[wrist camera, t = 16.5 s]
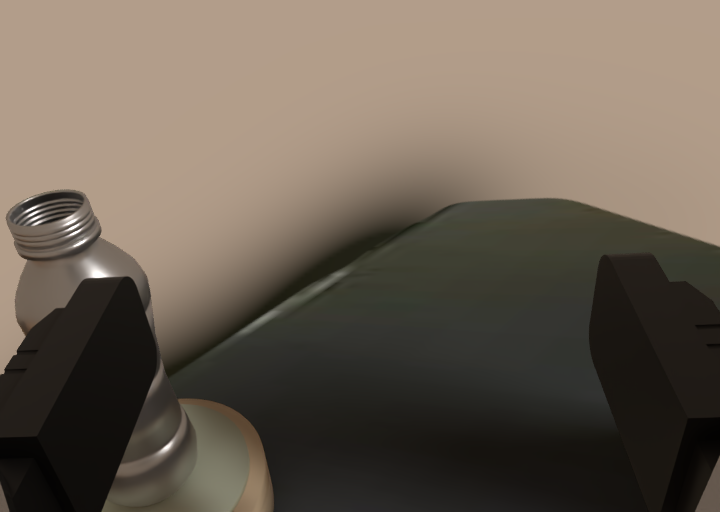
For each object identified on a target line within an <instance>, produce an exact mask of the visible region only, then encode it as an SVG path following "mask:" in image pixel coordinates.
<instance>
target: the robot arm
mask: <svg viewBox="0 0 720 512" xmlns="http://www.w3.org/2000/svg"><path fill="white" fill-rule="evenodd" d="M589 344H590V351H591V356H592V360H593V363H594V366H595V369H596V371H597V374H598V377H599V380H600V382H601V385H602V388H603V390H604V393H605V396H606V398H607V401H608V404H609V407H610V409H611V412H612V415H613V417H614V420H615V423H616V425H617V428H618V431H619V433H620V436H621V439H622V442H623V444H624V447H625V450H626V452H627V455H628V458H629V460H630V463H631V466H632V468H633V471H634V474H635V477H636V479H637V482H638V485H639V487H640V490H641V493H642V495H643V498H644V501H645V504H646V506H647V509H648V512H720V312H719V310H718V309H717V307H716V306H715V304H714V303H713V301H712V300H711V299H709V298H708V297H707V296H705V295H704V294H703V293H701V292H700V291H699V290H697V289H696V288H694V287H693V286H692V285H690V284H689V283H688V282H686V281H682V282H669V280H668V279H667V277H666V275H665V274H664V272H663V270H662V268H661V267H660V265H659V263H658V262H657V260H656V258H655V257H654V255H652V254H651V253H632V254H611V255H603V256H602V257H601V259H600V261H599V265H598V271H597V278H596V285H595V291H594V298H593V305H592V311H591V318H590V325H589ZM156 367H157V349H156V343H155V340H154V337H153V334H152V331H151V328H150V325H149V322H148V319H147V316H146V313H145V310H144V307H143V304H142V301H141V298H140V295H139V292H138V289H137V286H136V284H135V282H134V280H133V279H132V278H131V277H129V276H122V277H101V278H86V279H84V280H83V281H81V283H80V284H79V286H78V287H77V289H76V291H75V292H74V294H73V295H72V297H71V299H70V300H69V302H68V304H67V305H66V307H65V308H55V309H54V310H53V311H52V312H51V313H49V314H48V315H47V316H46V317H44V318H43V319H42V320H41V321H40V322H38V323H37V324H36V325H35V326H34V327H32V328H31V330H30V331H29V333H28V334H27V336H26V337H25V339H24V340H23V342H22V343H21V345H20V346H19V348H18V349H17V355H14V356H13V357H12V358H11V360H10V362H9V363H8V365H7V366H6V368H5V369H4V370H5V373H4V374H1V375H0V512H102V509H103V507H104V504H105V502H106V499H107V497H108V494H109V491H110V489H111V486H112V484H113V481H114V479H115V476H116V474H117V471H118V469H119V466H120V463H121V461H122V458H123V456H124V453H125V451H126V448H127V446H128V443H129V440H130V438H131V435H132V433H133V430H134V428H135V425H136V423H137V420H138V417H139V415H140V412H141V410H142V407H143V405H144V402H145V400H146V397H147V395H148V392H149V389H150V387H151V384H152V382H153V379H154V376H155V373H156Z"/></svg>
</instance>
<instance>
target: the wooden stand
mask: <svg viewBox="0 0 720 512" xmlns="http://www.w3.org/2000/svg"><path fill="white" fill-rule="evenodd" d="M177 400H178V402H179V403H180V404H181V406H182V407H183V408H184V410H185V411H186V413H187V415H188V417H189V419H190V421H191V423H192V425H193V427H194V429H195V431H196V436H197V451H198V453H197V461H196V464H195V467H194V469H193V471H192V473H191V474H190V476H189V478H188V479H187V481H186V482H185V483H184V484H183V486H182V487H181V488H180V489H179V490H177V491H176V492H175V493H174V494H173V495H171V496H170V497H168V498H167V499H164V500H162V501H160V502H158V503H155V504H152V505H149V506H143V507H129V506H123V505H117V504H114V503H112V502H110V501H108V500H107V499H106V502H105V504H104V507H103V509H102V512H273V511H274V492H273V487H272V482H271V478H270V474H269V470H268V465H267V461H266V457H265V453H264V449H263V445H262V442H261V440H260V437H259V435H258V433H257V432H256V430H255V428H254V427H253V426H252V425H251V423H250V422H249V421H248V420H247V419H246V418H245V417H243V416H242V415H241V414H240V413H238V412H237V411H235V410H233V409H232V408H230V407H227V406H225V405H223V404H220V403H216V402H213V401H208V400H201V399H177Z"/></svg>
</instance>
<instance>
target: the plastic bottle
mask: <svg viewBox="0 0 720 512" xmlns="http://www.w3.org/2000/svg"><path fill="white" fill-rule="evenodd" d="M6 220H7V225H8V227H9V229H10V231H11V233H12V235H13V238H14V240H15V241H14V245H15V248H16V250H17V252H18V254H19V255H20V256H21V257H22V258H24V259H27V263H26V265H25V267H24V270H23V272H22V274H21V277H20V280H19V284H18V288H17V291H16V296H15V310H16V318H17V322H18V324H19V326H20V327H21V329H22V331H23V332H24V334H25V336H27V334H28V333H29V331H30V330H31V328H32V327H34V326H35V325H36V324H37V323H38V322H40V321H41V320H42V319H43V318H44V317H46V316H47V315H48V314H49V313H51V312H52V311H53V310H54V309H55V308H65V307H66V305H67V304H68V302H69V300H70V299H71V297H72V295H73V294H74V292H75V291H76V289H77V287H78V286H79V284H80V283H81V281H83V280H84V279H86V278H101V277H122V276H129V277H131V278H132V279H133V280H134V282H135V284H136V286H137V289H138V292H139V295H140V298H141V301H142V304H143V307H144V310H145V313H146V316H147V319H148V322H149V325H150V328H151V331H152V334H153V337H154V340H155V343H156V349H157V367H156V373H155V376H154V379H153V382H152V384H151V387H150V389H149V392H148V395H147V397H146V400H145V402H144V405H143V407H142V410H141V412H140V415H139V417H138V420H137V423H136V425H135V428H134V430H133V433H132V435H131V438H130V440H129V443H128V446H127V448H126V451H125V453H124V456H123V458H122V461H121V463H120V466H119V469H118V471H117V474H116V476H115V479H114V481H113V484H112V486H111V489H110V491H109V494H108V497H107V500H108V501H110V502H112V503H114V504H117V505H123V506H129V507H143V506H149V505H152V504H155V503H158V502H160V501H162V500H164V499H167V498H168V497H170V496H171V495H173V494H174V493H175V492H176V491H177V490H179V489H180V488H181V487H182V486H183V484H184V483H185V482H186V481H187V479H188V478H189V476H190V474H191V473H192V471H193V469H194V467H195V464H196V461H197V453H198V451H197V436H196V431H195V429H194V427H193V425H192V423H191V421H190V419H189V417H188V415H187V413H186V411H185V410H184V408H183V407H182V406H181V404H180V403H179V402H178V400H177V397H176V395H175V393H174V391H173V389H172V386H171V384H170V382H169V380H168V377H167V375H166V373H165V371H164V367H163V363H162V358H161V355H160V351H159V346H158V342H157V338H156V334H155V327H154V318H153V310H152V302H151V294H150V288H149V284H148V279H147V276H146V274H145V272H144V271H143V270H142V268H141V267H140V265H139V264H138V263H137V262H136V260H135V259H134V258H133V257H131V256H130V255H129V254H127V253H126V252H124V251H123V250H121V249H120V248H118V247H117V246H115V245H114V244H112V243H110V242H108V241H106V240H104V239H102V238H100V237H99V236H100V234H101V226H100V223H99V220H98V219H97V217H96V216H94V213H93V211H92V208H91V206H90V202H89V200H88V199H87V197H86V195H85V194H83V193H82V192H79V191H76V190H55V191H50V192H45V193H41V194H38V195H35V196H32V197H30V198H27V199H25V200H23V201H21V202H20V203H18V204H16V205H15V206H14V207H12V208H11V209H10V211H9V212H8V213H7V216H6Z"/></svg>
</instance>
